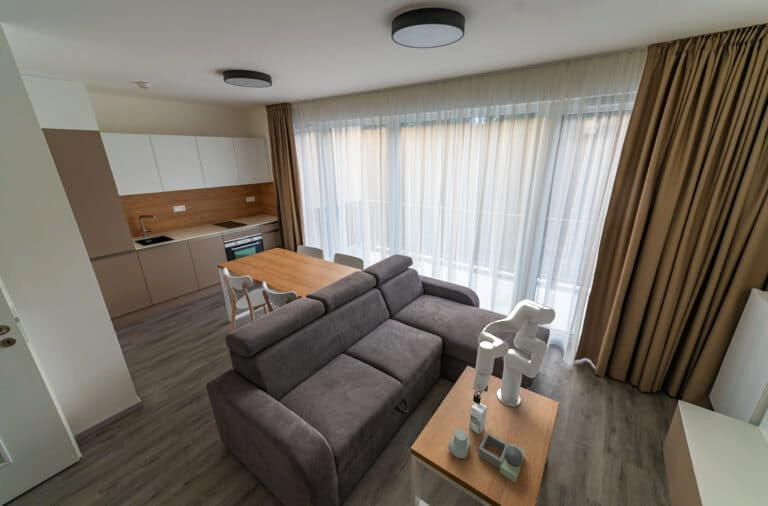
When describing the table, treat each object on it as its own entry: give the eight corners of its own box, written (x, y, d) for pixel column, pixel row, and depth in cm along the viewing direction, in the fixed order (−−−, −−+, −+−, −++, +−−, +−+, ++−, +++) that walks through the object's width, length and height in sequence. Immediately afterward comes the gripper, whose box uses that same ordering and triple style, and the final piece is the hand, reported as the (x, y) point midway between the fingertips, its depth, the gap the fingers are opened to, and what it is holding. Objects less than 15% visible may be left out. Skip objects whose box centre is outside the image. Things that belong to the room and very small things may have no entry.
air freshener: (455, 436, 143) (457, 421, 140) (472, 446, 138) (474, 431, 135) (446, 454, 135) (447, 438, 131) (462, 465, 130) (464, 449, 127)
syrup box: (484, 428, 147) (487, 406, 142) (479, 435, 143) (482, 413, 139) (474, 421, 151) (477, 399, 146) (468, 428, 147) (471, 406, 142)
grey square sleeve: (487, 436, 143) (488, 425, 141) (524, 457, 133) (526, 446, 130) (476, 458, 133) (477, 447, 130) (515, 483, 122) (518, 471, 120)
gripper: (483, 354, 143) (479, 382, 149) (469, 374, 130) (465, 403, 136) (498, 361, 139) (494, 389, 144) (485, 381, 126) (481, 411, 131)
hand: (480, 396), depth 140 cm, fingers open, 9 cm apart
